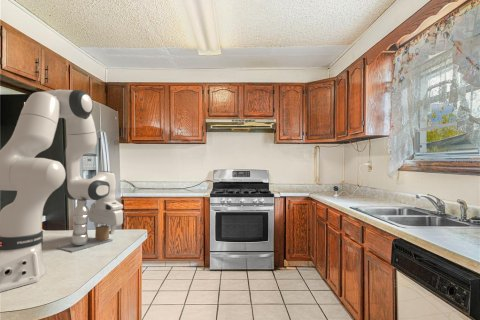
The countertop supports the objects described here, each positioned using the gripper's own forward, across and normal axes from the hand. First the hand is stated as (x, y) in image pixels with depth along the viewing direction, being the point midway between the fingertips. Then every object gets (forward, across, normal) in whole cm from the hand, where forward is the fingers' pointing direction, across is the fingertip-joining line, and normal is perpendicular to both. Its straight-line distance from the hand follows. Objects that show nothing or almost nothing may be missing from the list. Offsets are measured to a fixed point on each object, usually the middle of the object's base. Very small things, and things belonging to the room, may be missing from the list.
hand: (104, 232), depth 136 cm
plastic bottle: (+3, 0, -13) cm, 13 cm away
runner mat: (+3, 0, -10) cm, 10 cm away
